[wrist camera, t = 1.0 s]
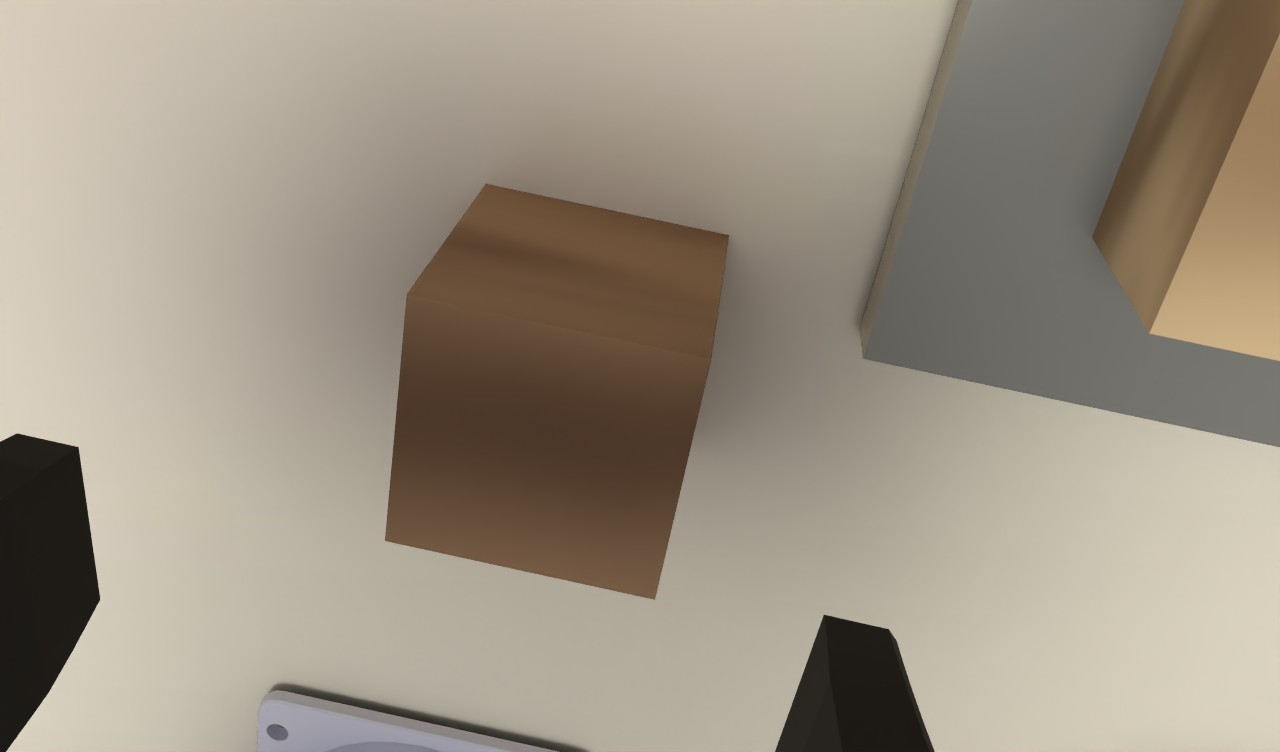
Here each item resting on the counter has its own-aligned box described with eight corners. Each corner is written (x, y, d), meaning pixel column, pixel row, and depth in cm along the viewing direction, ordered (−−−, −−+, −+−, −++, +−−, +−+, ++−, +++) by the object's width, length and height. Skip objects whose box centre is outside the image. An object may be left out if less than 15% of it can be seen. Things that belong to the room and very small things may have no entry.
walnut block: (681, 441, 24) (654, 599, 19) (461, 393, 24) (385, 540, 19) (728, 234, 21) (710, 359, 17) (486, 182, 21) (406, 294, 17)
